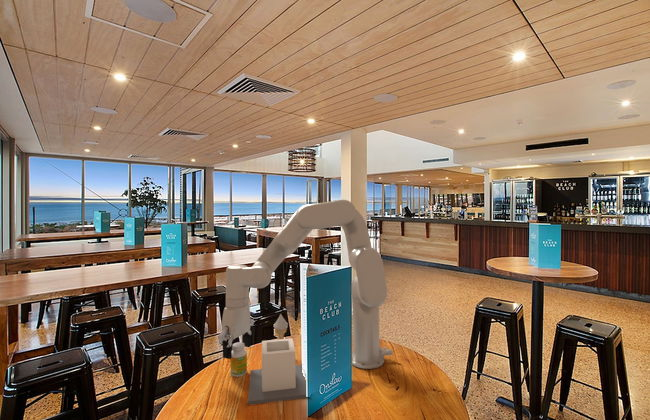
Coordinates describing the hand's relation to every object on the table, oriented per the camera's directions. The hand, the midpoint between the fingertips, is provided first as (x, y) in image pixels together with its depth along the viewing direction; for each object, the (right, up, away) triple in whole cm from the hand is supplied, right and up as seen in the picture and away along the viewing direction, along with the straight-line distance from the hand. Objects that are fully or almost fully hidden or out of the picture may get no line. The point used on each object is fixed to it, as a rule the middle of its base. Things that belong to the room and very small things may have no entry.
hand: (237, 351), depth 109 cm
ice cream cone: (+13, -7, +16) cm, 22 cm away
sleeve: (+15, -7, -7) cm, 18 cm away
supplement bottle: (+1, -7, 0) cm, 7 cm away
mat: (+15, -7, -7) cm, 18 cm away
